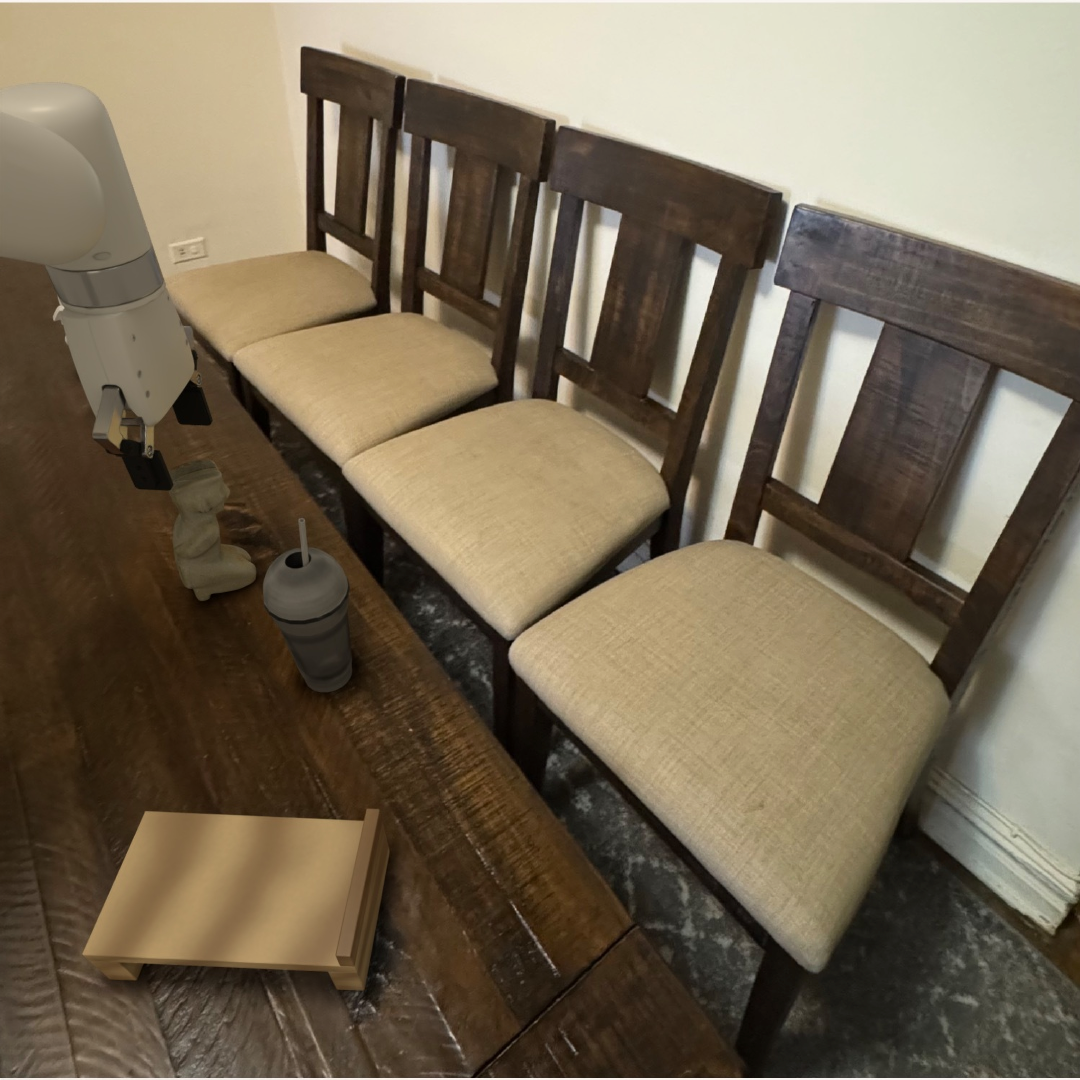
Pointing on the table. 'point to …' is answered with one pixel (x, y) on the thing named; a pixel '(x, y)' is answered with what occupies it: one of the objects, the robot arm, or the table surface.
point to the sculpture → (205, 532)
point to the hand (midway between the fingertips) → (176, 454)
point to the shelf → (245, 895)
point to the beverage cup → (312, 613)
